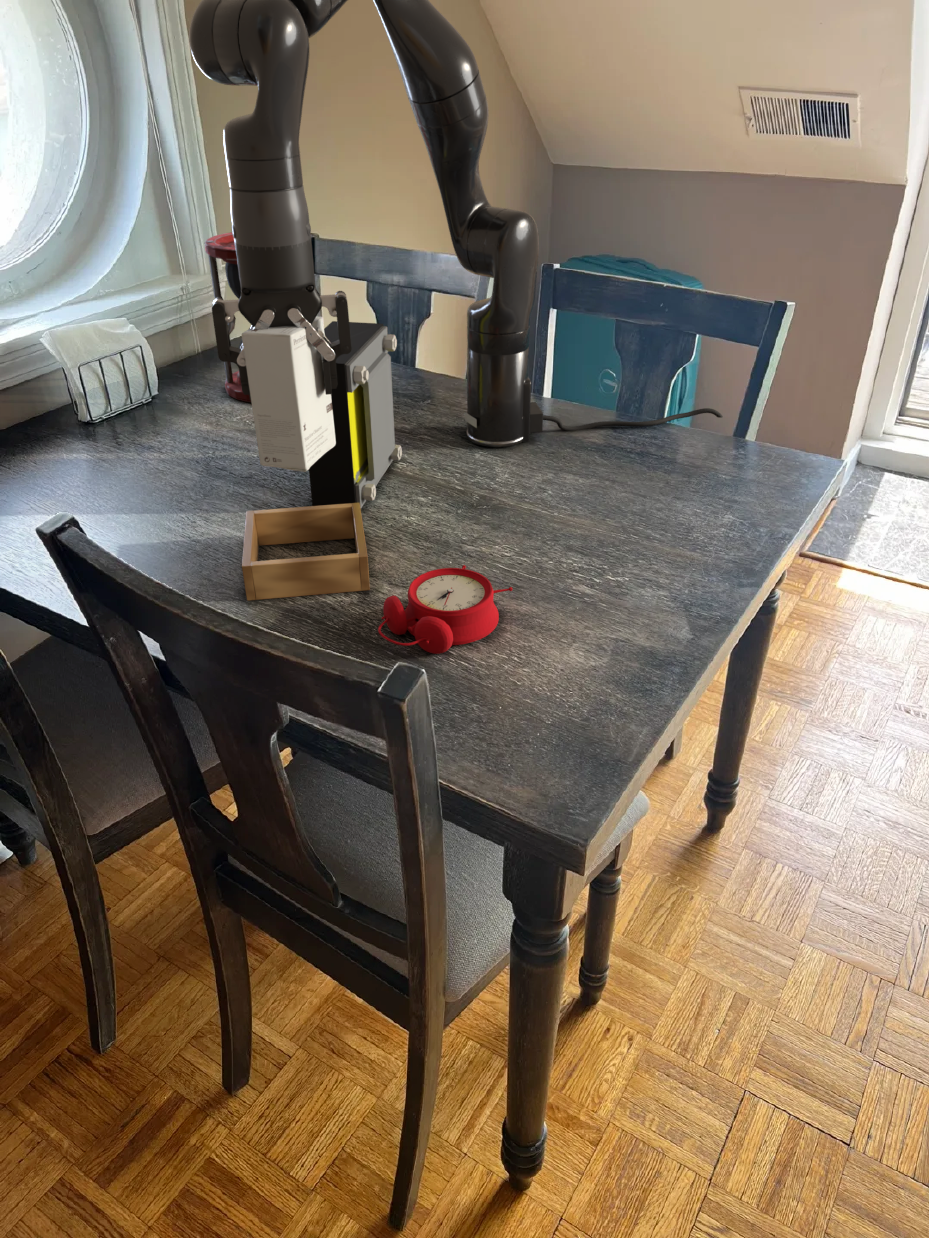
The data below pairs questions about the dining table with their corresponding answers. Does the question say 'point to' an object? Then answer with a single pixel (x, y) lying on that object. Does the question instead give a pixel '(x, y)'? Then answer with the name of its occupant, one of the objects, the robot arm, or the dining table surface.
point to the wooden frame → (306, 571)
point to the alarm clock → (444, 609)
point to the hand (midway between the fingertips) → (290, 394)
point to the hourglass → (226, 251)
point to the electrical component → (358, 419)
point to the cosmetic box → (288, 396)
